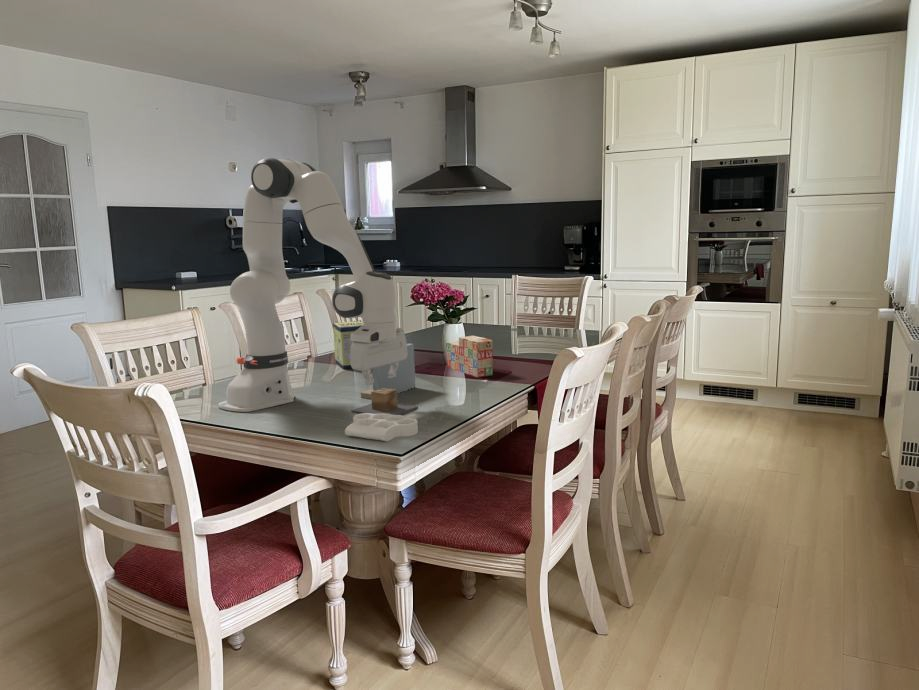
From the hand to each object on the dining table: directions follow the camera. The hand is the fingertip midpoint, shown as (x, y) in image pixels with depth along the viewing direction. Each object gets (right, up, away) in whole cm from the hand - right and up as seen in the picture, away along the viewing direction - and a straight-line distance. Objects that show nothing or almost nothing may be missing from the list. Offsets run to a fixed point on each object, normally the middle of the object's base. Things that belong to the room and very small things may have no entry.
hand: (381, 381), depth 186 cm
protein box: (-19, +2, +67) cm, 70 cm away
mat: (+1, -8, +1) cm, 8 cm away
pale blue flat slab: (0, -5, +22) cm, 23 cm away
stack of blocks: (+25, 0, +50) cm, 56 cm away
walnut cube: (+1, -8, +1) cm, 8 cm away
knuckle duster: (+2, -12, -18) cm, 22 cm away
